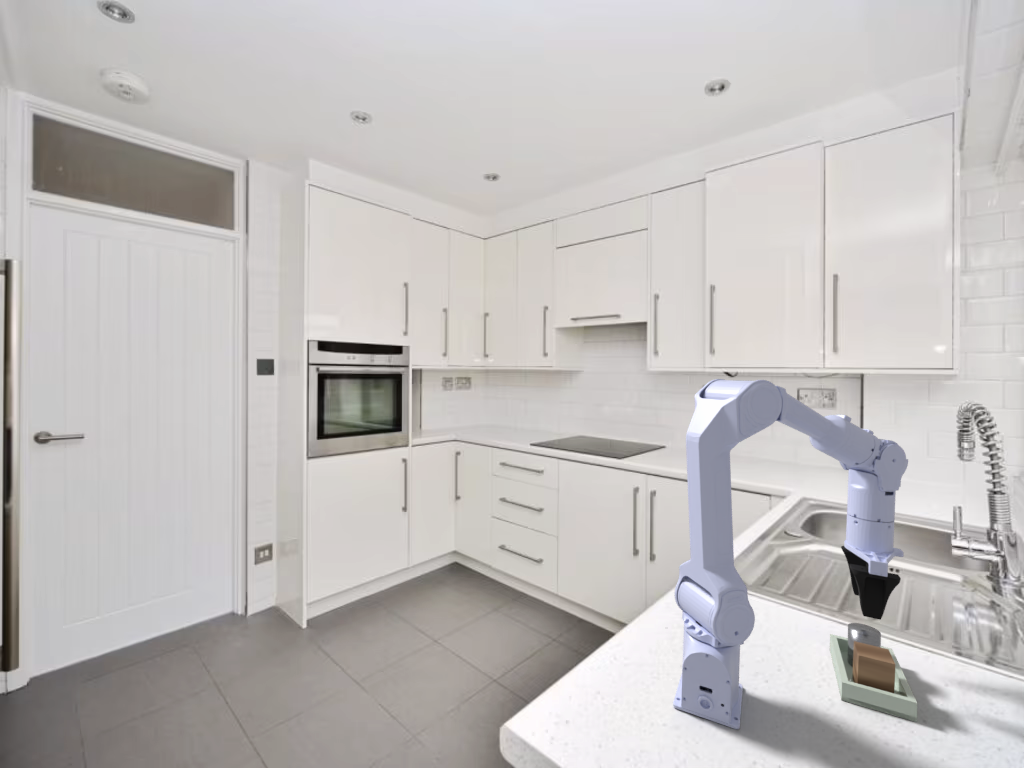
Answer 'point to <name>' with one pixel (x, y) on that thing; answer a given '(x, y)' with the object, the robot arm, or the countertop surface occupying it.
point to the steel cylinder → (861, 637)
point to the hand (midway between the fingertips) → (866, 605)
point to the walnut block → (873, 667)
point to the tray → (869, 697)
